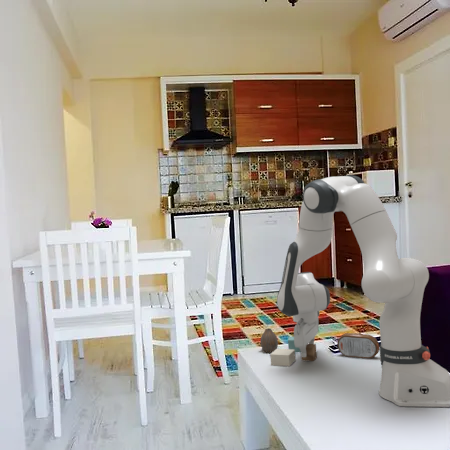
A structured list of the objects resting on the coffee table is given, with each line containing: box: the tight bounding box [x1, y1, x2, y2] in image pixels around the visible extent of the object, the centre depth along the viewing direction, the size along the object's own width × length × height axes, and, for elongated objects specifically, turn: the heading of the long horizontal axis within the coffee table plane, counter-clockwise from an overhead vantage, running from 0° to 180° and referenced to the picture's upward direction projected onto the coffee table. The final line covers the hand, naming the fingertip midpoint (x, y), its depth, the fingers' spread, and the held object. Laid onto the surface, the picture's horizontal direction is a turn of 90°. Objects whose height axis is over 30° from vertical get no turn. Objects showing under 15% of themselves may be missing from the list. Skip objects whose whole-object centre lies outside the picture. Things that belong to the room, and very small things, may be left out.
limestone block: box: [269, 348, 296, 367], centre depth 186 cm, size 7×7×4 cm
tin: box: [336, 332, 380, 359], centre depth 185 cm, size 15×3×8 cm, turn 58°
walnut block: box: [300, 343, 318, 362], centre depth 187 cm, size 4×4×5 cm
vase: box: [259, 328, 279, 353], centre depth 201 cm, size 7×7×9 cm
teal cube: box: [287, 336, 301, 354], centre depth 199 cm, size 5×5×5 cm
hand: (307, 352), depth 188 cm, fingers open, 8 cm apart
